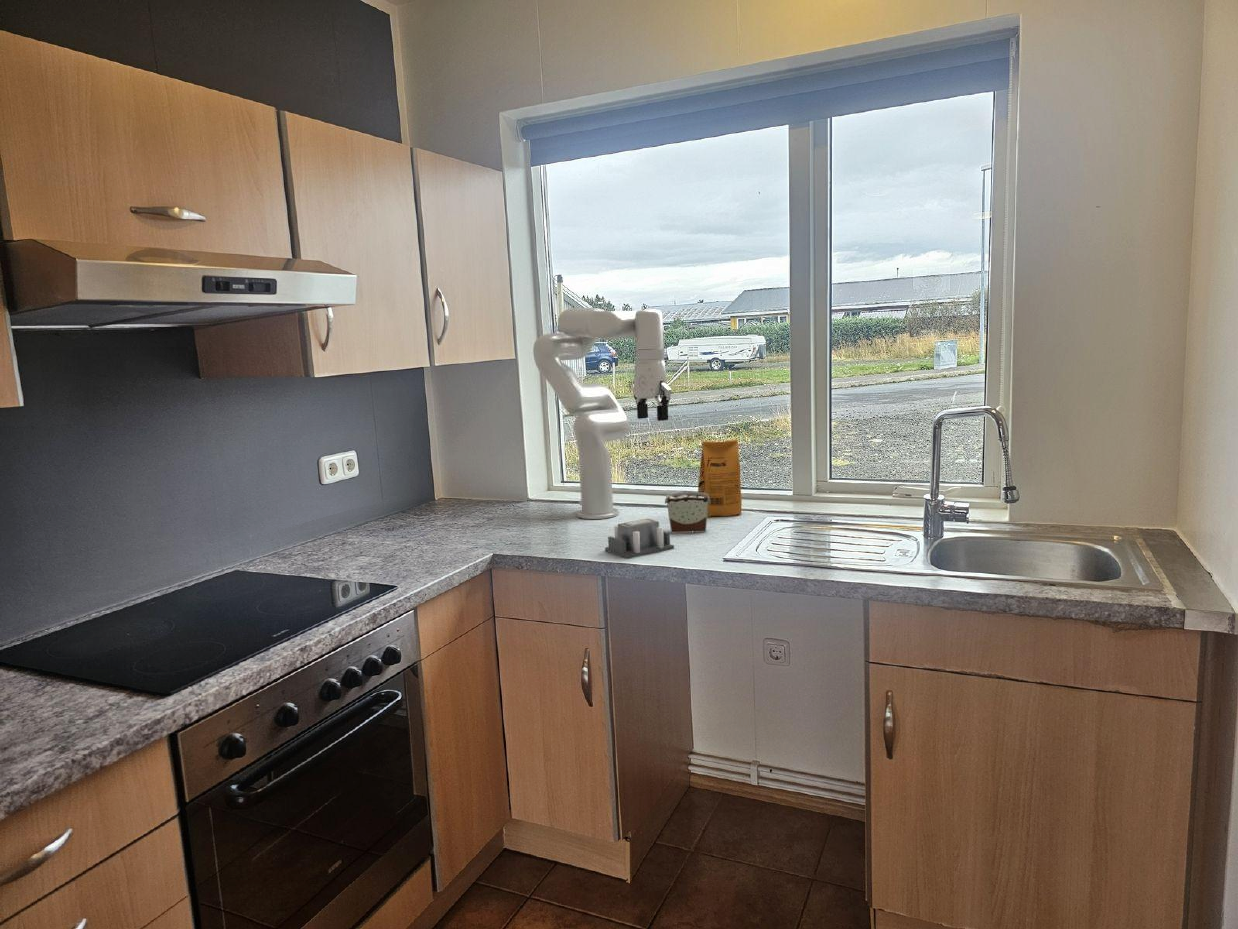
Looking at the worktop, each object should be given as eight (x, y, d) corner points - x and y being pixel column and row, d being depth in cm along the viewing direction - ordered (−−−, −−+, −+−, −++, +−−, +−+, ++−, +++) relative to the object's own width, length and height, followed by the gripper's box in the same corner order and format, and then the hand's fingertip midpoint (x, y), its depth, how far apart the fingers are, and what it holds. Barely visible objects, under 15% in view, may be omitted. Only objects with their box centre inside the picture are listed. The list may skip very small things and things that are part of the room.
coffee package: (697, 511, 244) (695, 439, 241) (738, 509, 244) (736, 437, 241) (701, 518, 234) (698, 443, 231) (743, 516, 234) (742, 441, 231)
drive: (618, 547, 202) (617, 523, 201) (648, 541, 206) (647, 517, 205) (629, 551, 197) (628, 526, 196) (659, 545, 202) (658, 520, 201)
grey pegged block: (605, 550, 202) (603, 527, 202) (651, 541, 210) (650, 519, 209) (626, 558, 194) (625, 535, 193) (674, 548, 201) (673, 525, 200)
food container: (711, 526, 223) (710, 491, 222) (711, 531, 217) (710, 495, 216) (666, 527, 224) (665, 492, 223) (665, 532, 218) (664, 496, 217)
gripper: (621, 357, 223) (624, 418, 226) (656, 356, 209) (659, 422, 211) (644, 355, 227) (646, 416, 230) (680, 355, 212) (682, 419, 215)
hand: (652, 419), depth 220 cm, fingers open, 9 cm apart
